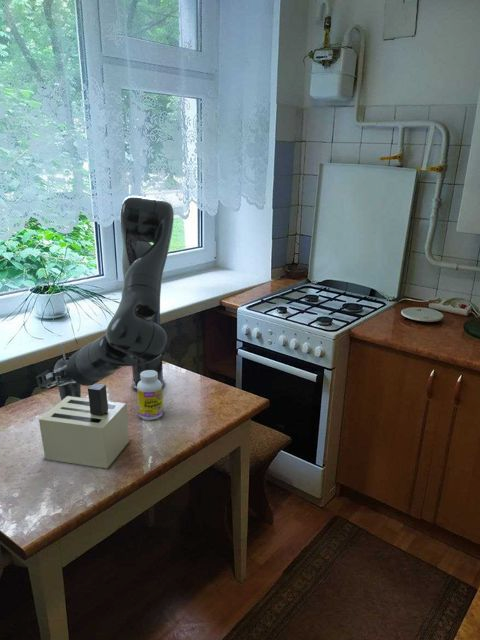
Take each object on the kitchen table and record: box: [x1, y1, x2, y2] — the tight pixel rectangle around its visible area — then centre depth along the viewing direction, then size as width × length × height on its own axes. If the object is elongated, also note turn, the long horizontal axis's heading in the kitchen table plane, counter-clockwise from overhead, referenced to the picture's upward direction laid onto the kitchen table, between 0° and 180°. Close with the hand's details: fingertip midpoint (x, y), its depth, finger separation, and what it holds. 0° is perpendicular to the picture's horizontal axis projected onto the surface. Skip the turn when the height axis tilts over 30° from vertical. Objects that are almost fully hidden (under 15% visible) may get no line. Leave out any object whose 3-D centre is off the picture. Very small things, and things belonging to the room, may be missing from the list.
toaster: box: [38, 396, 130, 469], centre depth 120 cm, size 12×16×11 cm
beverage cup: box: [53, 344, 82, 402], centre depth 137 cm, size 7×7×20 cm
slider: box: [87, 383, 108, 416], centre depth 116 cm, size 3×3×7 cm
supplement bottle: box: [136, 370, 164, 421], centre depth 137 cm, size 7×7×13 cm
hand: (61, 382), depth 110 cm, fingers open, 8 cm apart
